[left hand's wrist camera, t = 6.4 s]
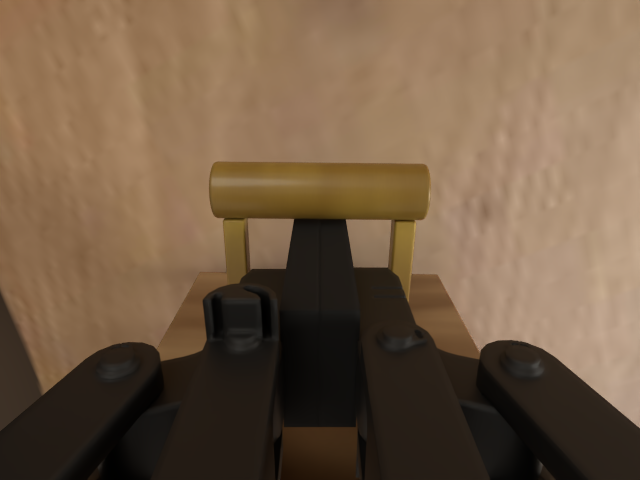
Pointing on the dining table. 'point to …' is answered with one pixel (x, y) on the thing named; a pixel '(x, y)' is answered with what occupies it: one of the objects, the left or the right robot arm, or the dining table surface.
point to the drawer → (321, 203)
